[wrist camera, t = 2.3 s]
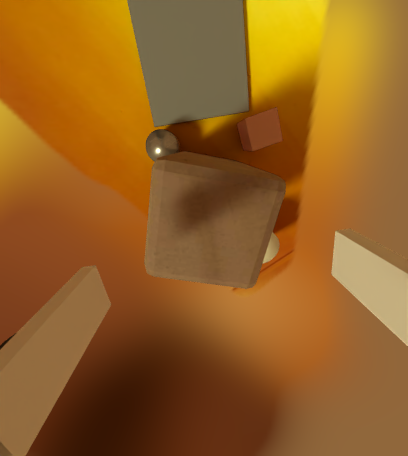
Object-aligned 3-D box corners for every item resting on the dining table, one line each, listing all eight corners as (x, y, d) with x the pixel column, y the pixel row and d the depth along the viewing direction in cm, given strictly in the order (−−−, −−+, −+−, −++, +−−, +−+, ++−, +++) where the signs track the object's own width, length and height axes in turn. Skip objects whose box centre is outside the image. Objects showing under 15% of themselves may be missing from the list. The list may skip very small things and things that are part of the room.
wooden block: (240, 161, 33) (295, 179, 14) (227, 219, 36) (256, 295, 18) (178, 149, 32) (150, 152, 13) (171, 210, 35) (140, 279, 17)
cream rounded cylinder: (233, 217, 36) (240, 233, 30) (264, 213, 36) (279, 227, 30) (236, 245, 38) (243, 265, 32) (265, 241, 38) (279, 260, 32)
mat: (128, 3, 25) (127, 0, 25) (240, -18, 25) (241, -22, 24) (155, 126, 31) (154, 126, 30) (248, 111, 30) (249, 110, 30)
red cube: (236, 123, 31) (245, 118, 25) (262, 114, 30) (276, 106, 25) (243, 150, 32) (252, 151, 27) (268, 142, 32) (282, 140, 26)
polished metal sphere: (148, 134, 31) (142, 132, 27) (177, 129, 31) (174, 126, 27) (155, 163, 33) (150, 166, 29) (182, 159, 32) (180, 161, 29)
